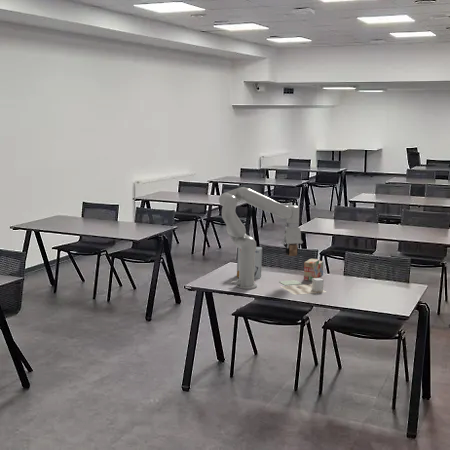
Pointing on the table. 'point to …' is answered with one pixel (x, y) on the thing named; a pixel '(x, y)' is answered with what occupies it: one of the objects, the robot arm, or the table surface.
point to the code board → (300, 289)
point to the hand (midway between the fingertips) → (291, 253)
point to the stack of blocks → (313, 269)
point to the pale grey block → (317, 284)
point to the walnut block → (292, 250)
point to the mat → (290, 282)
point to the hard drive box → (257, 262)
